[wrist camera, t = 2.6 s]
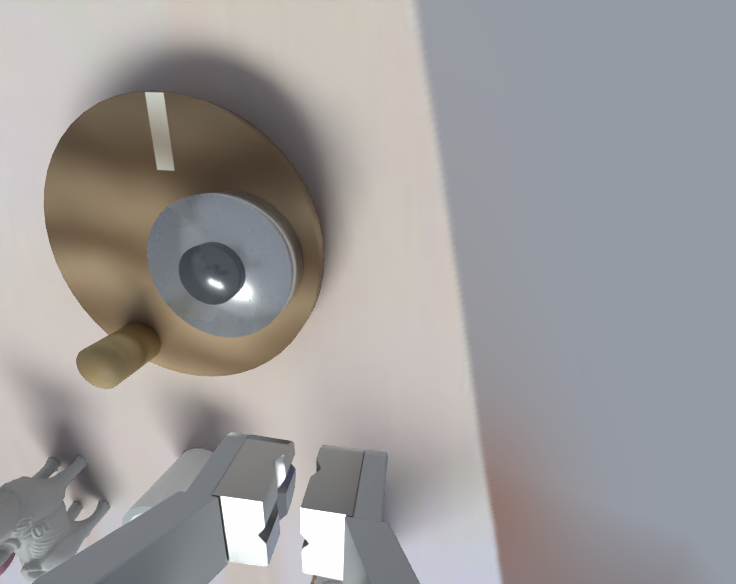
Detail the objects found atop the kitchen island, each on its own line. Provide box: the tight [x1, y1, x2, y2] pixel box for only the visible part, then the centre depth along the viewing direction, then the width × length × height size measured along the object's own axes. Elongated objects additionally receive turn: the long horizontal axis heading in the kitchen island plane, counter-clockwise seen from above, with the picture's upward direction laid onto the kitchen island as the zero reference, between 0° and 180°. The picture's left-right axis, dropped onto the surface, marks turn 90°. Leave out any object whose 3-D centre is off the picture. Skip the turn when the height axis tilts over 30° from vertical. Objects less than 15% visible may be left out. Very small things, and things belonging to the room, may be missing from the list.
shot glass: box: [122, 448, 213, 526], centre depth 33 cm, size 7×7×7 cm
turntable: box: [44, 91, 324, 389], centre depth 23 cm, size 20×20×6 cm
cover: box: [147, 190, 304, 338], centre depth 22 cm, size 9×9×4 cm
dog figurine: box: [0, 456, 110, 581], centre depth 34 cm, size 5×13×11 cm, turn 10°
